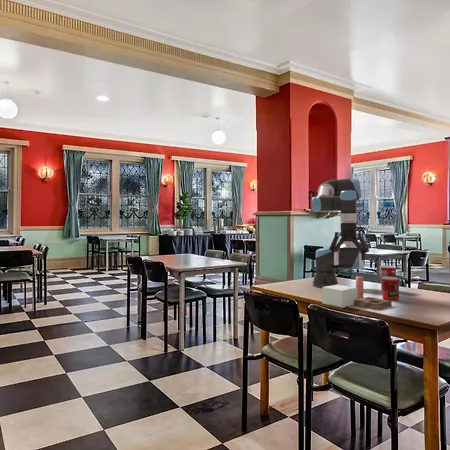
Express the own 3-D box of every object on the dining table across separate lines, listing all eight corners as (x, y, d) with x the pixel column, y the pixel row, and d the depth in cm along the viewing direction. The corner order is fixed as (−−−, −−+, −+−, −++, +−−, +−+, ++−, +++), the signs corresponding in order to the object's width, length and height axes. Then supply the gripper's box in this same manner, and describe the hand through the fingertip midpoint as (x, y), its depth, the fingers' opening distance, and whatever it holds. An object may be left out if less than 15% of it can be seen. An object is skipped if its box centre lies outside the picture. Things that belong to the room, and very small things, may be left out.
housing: (322, 303, 194) (322, 287, 194) (337, 300, 201) (337, 284, 200) (342, 307, 184) (341, 290, 184) (357, 304, 191) (357, 287, 191)
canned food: (389, 301, 197) (389, 279, 197) (379, 298, 205) (379, 276, 205) (402, 300, 199) (402, 278, 199) (391, 297, 207) (391, 276, 207)
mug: (377, 289, 231) (377, 265, 231) (392, 288, 231) (392, 265, 230) (385, 293, 218) (385, 268, 218) (402, 293, 218) (402, 268, 218)
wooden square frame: (354, 305, 189) (354, 299, 189) (369, 301, 196) (369, 296, 196) (376, 309, 180) (376, 304, 180) (391, 306, 187) (391, 300, 187)
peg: (354, 300, 199) (354, 277, 199) (358, 300, 201) (358, 276, 201) (360, 302, 196) (360, 277, 196) (364, 301, 198) (364, 277, 198)
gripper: (322, 222, 200) (322, 264, 200) (368, 222, 182) (368, 268, 182) (330, 222, 205) (330, 263, 205) (376, 222, 187) (376, 267, 187)
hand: (348, 266), depth 194 cm, fingers open, 13 cm apart
